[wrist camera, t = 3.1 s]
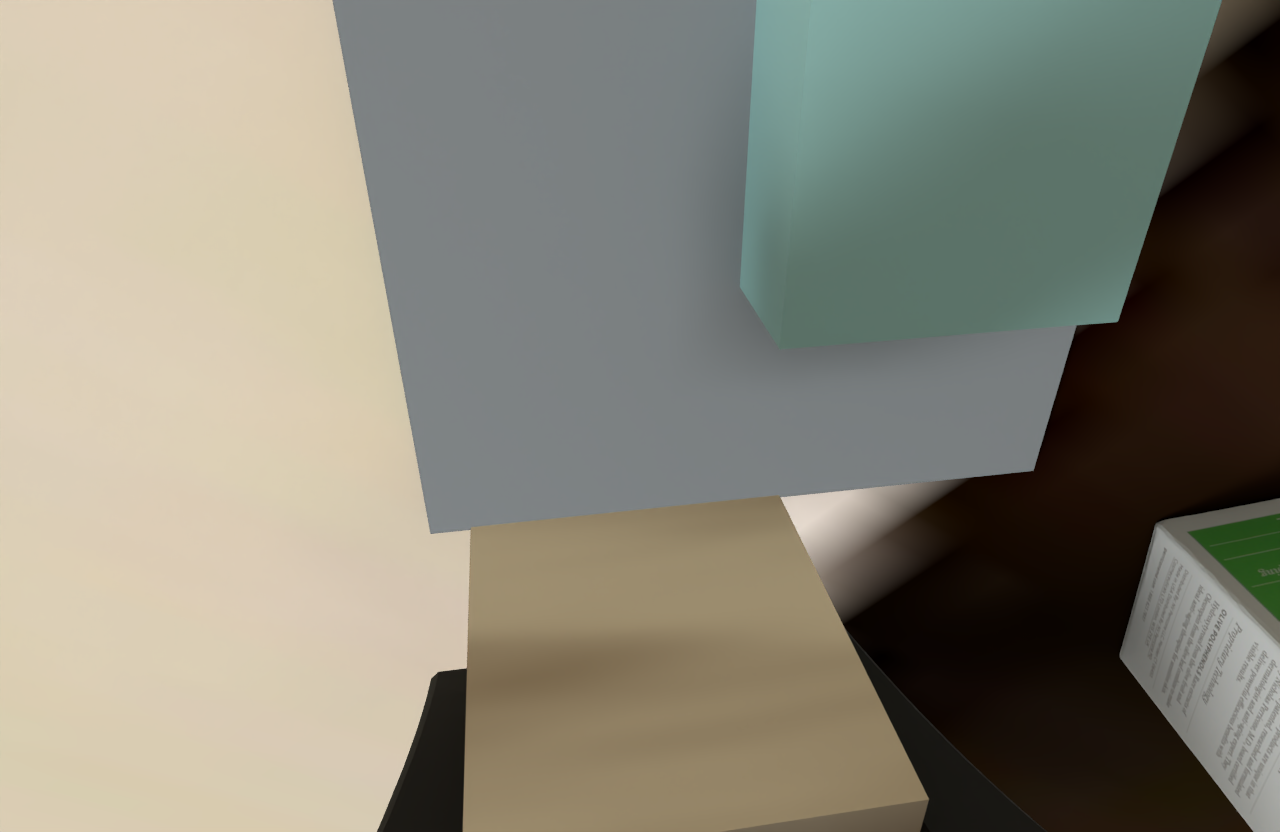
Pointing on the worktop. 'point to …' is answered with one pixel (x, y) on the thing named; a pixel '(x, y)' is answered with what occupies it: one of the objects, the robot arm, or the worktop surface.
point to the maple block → (670, 682)
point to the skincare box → (1217, 647)
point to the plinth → (957, 161)
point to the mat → (626, 277)
